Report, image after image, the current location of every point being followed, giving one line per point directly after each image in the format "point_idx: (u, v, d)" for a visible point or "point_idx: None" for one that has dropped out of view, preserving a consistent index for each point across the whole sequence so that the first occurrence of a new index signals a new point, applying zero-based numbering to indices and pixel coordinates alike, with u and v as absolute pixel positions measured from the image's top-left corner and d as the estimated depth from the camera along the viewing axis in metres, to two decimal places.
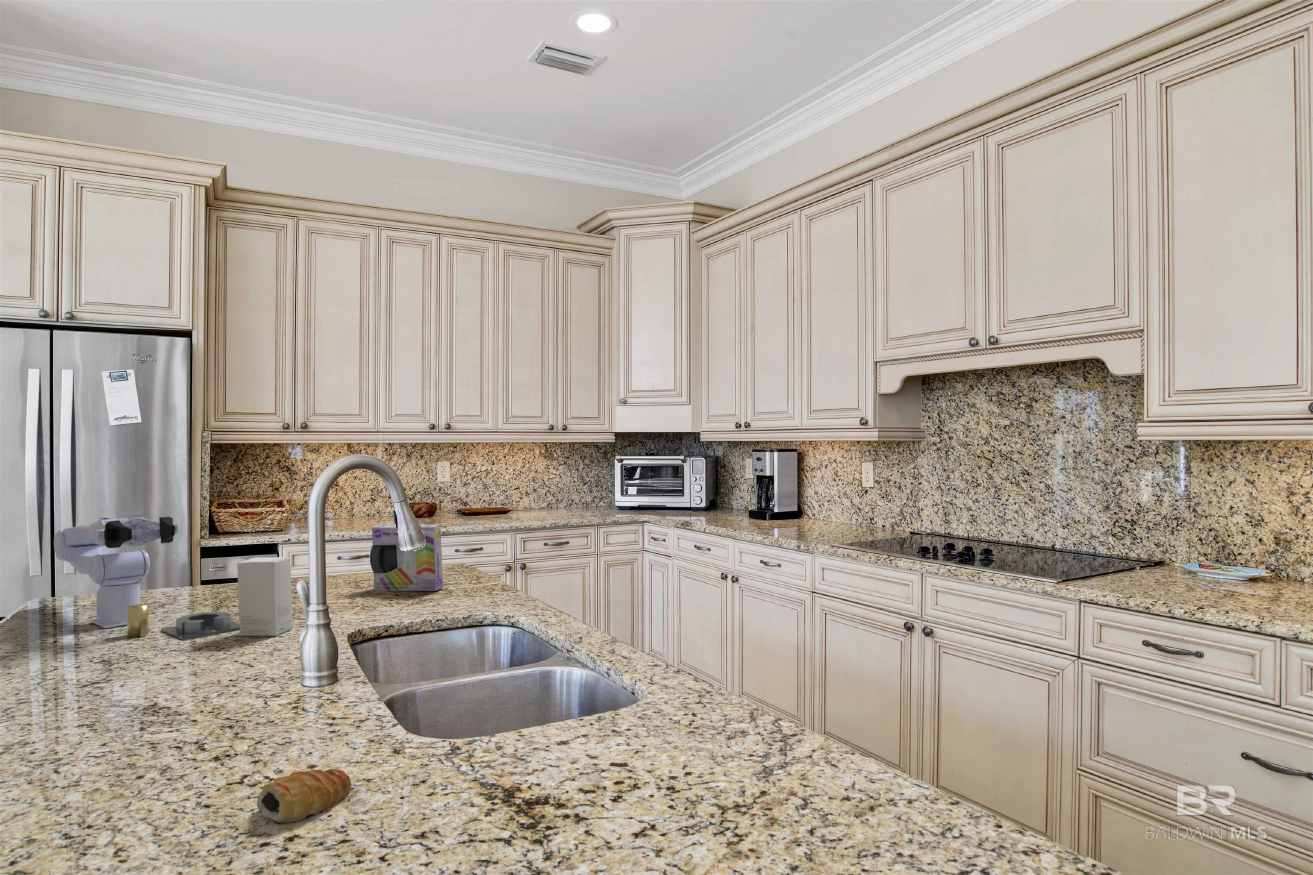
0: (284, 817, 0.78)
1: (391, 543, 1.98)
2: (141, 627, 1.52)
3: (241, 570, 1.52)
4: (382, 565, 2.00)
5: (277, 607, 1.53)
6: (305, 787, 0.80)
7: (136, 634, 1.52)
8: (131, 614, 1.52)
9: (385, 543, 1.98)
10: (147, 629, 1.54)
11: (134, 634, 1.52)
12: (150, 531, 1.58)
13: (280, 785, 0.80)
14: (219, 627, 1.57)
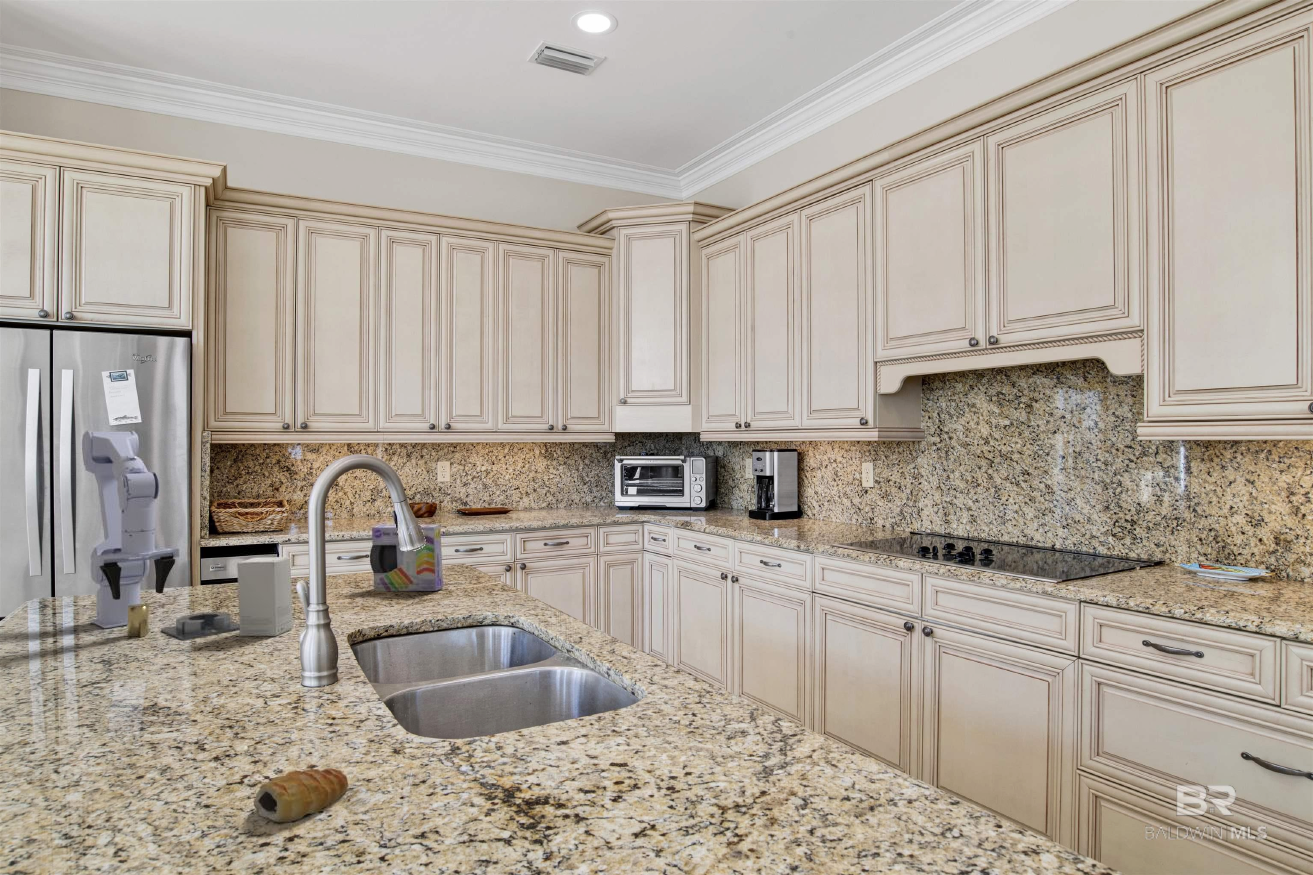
0: (282, 817, 0.78)
1: (391, 543, 1.98)
2: (141, 627, 1.52)
3: (241, 570, 1.52)
4: (382, 565, 2.00)
5: (277, 607, 1.53)
6: (303, 787, 0.80)
7: (136, 634, 1.52)
8: (131, 614, 1.52)
9: (385, 543, 1.98)
10: (147, 629, 1.54)
11: (134, 634, 1.52)
12: None
13: (277, 785, 0.80)
14: (219, 627, 1.57)
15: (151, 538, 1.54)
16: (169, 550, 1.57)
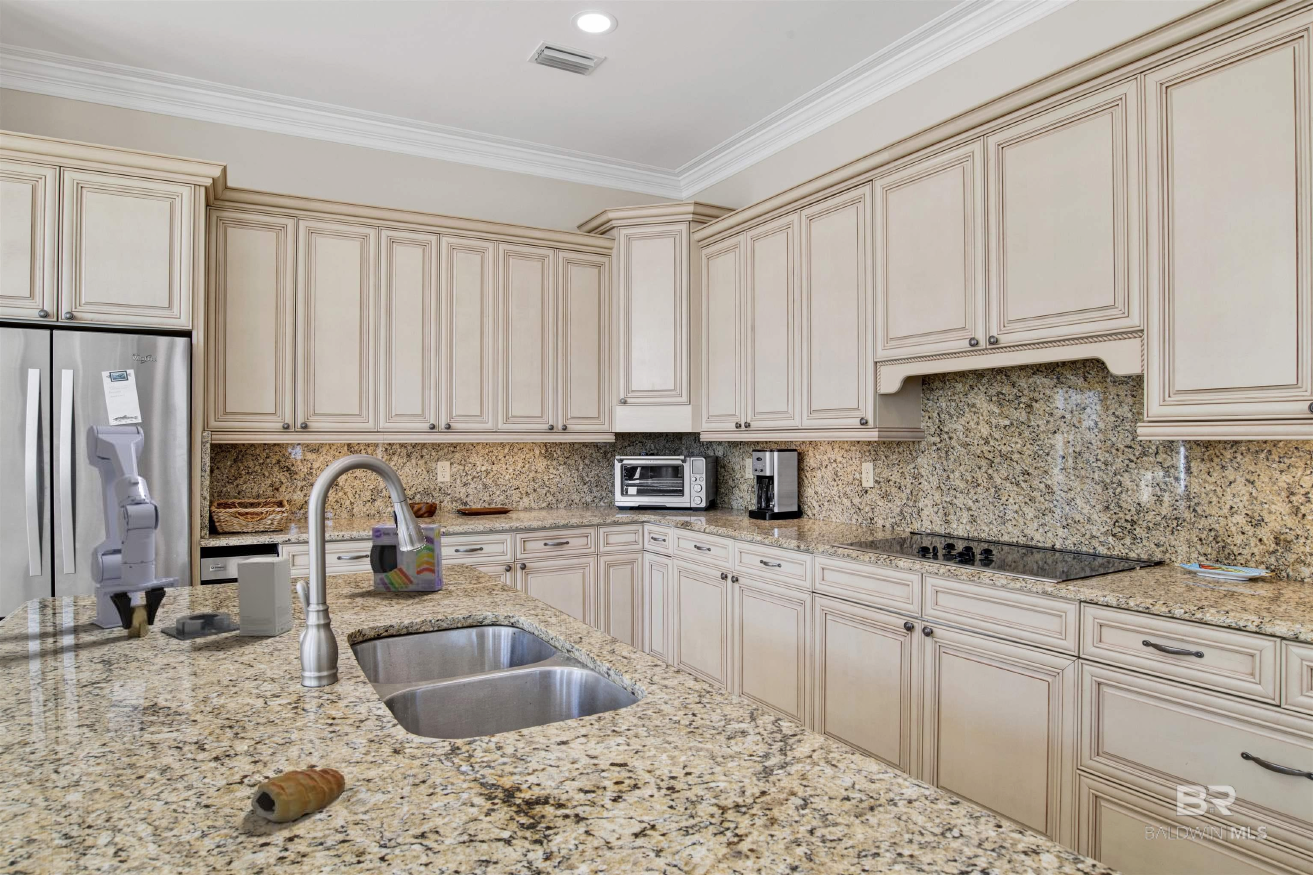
0: (280, 816, 0.78)
1: (391, 543, 1.98)
2: (141, 627, 1.52)
3: (241, 570, 1.52)
4: (382, 565, 2.00)
5: (277, 607, 1.53)
6: (300, 786, 0.80)
7: (136, 634, 1.52)
8: (131, 614, 1.52)
9: (385, 543, 1.98)
10: (147, 629, 1.54)
11: (134, 634, 1.52)
12: None
13: (275, 784, 0.80)
14: (219, 627, 1.57)
15: (151, 569, 1.54)
16: (169, 580, 1.57)
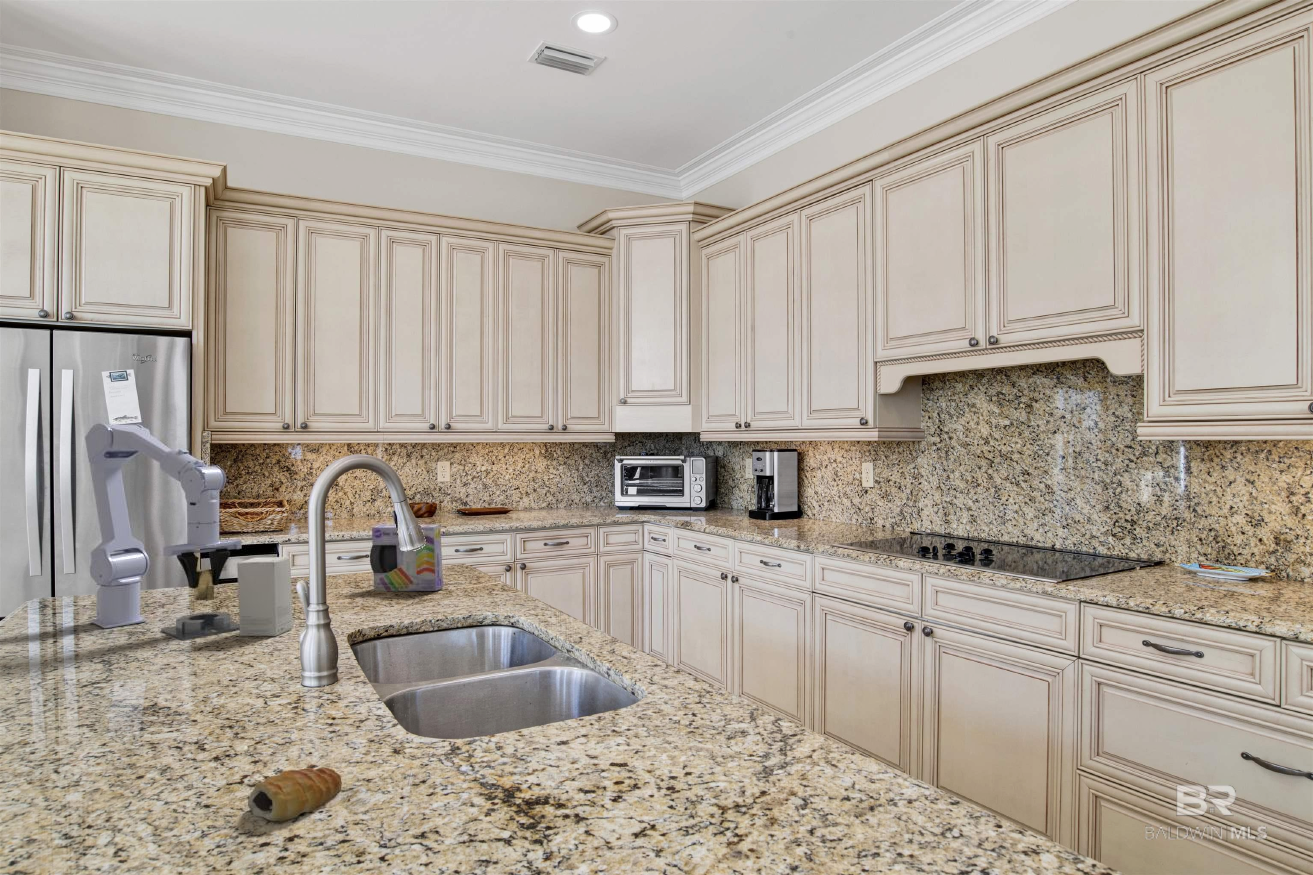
0: (278, 816, 0.78)
1: (391, 543, 1.98)
2: (210, 590, 1.56)
3: (241, 570, 1.52)
4: (382, 565, 2.00)
5: (277, 607, 1.53)
6: (298, 786, 0.81)
7: (204, 597, 1.56)
8: (199, 578, 1.56)
9: (385, 543, 1.98)
10: None
11: (202, 597, 1.56)
12: None
13: (272, 784, 0.80)
14: (219, 627, 1.57)
15: (216, 530, 1.58)
16: (232, 542, 1.61)
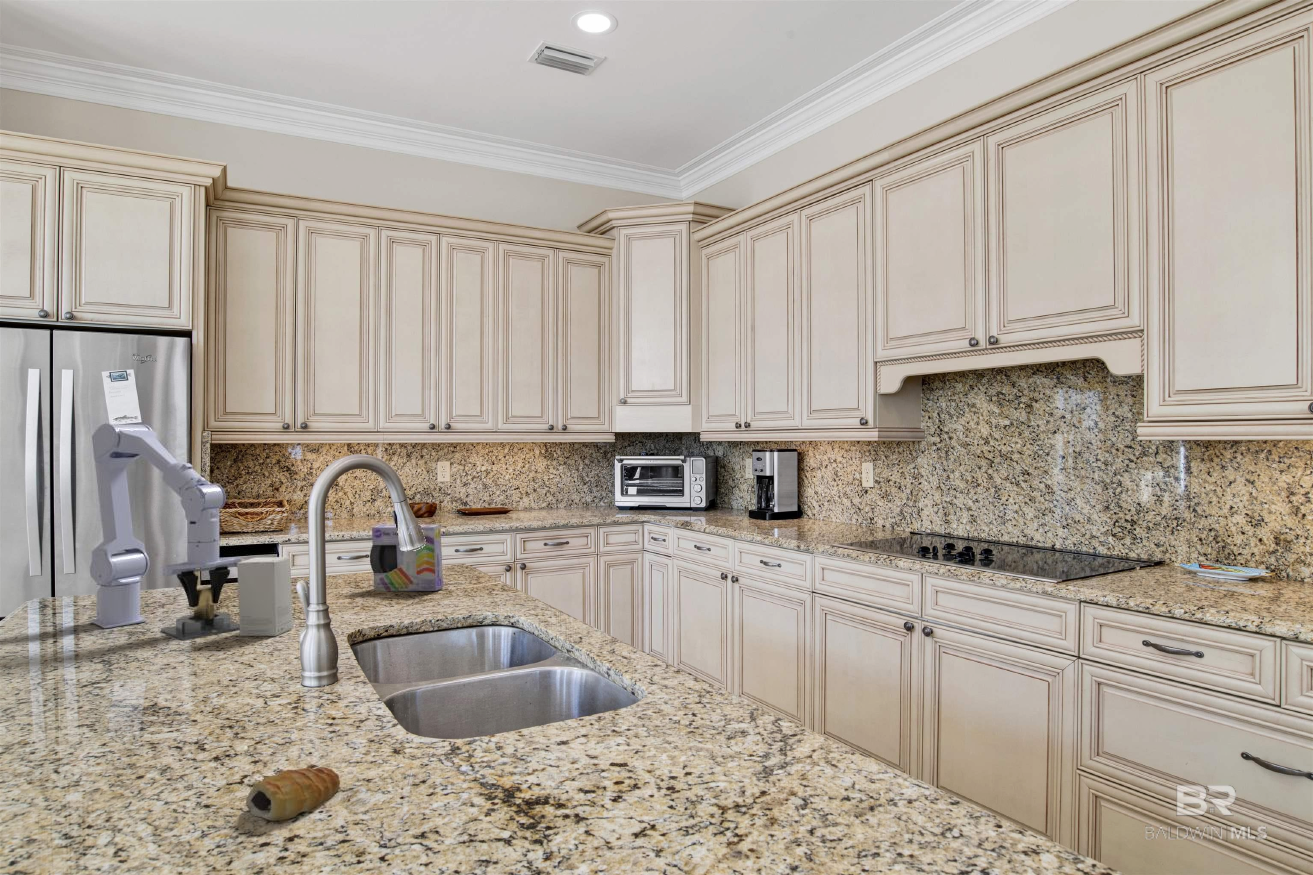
0: (276, 815, 0.78)
1: (391, 543, 1.98)
2: (210, 609, 1.56)
3: (241, 570, 1.52)
4: (382, 565, 2.00)
5: (277, 607, 1.53)
6: (296, 785, 0.81)
7: (204, 616, 1.56)
8: (199, 597, 1.56)
9: (385, 543, 1.98)
10: None
11: (202, 616, 1.56)
12: None
13: (271, 784, 0.80)
14: (219, 627, 1.57)
15: (216, 549, 1.58)
16: (232, 560, 1.61)
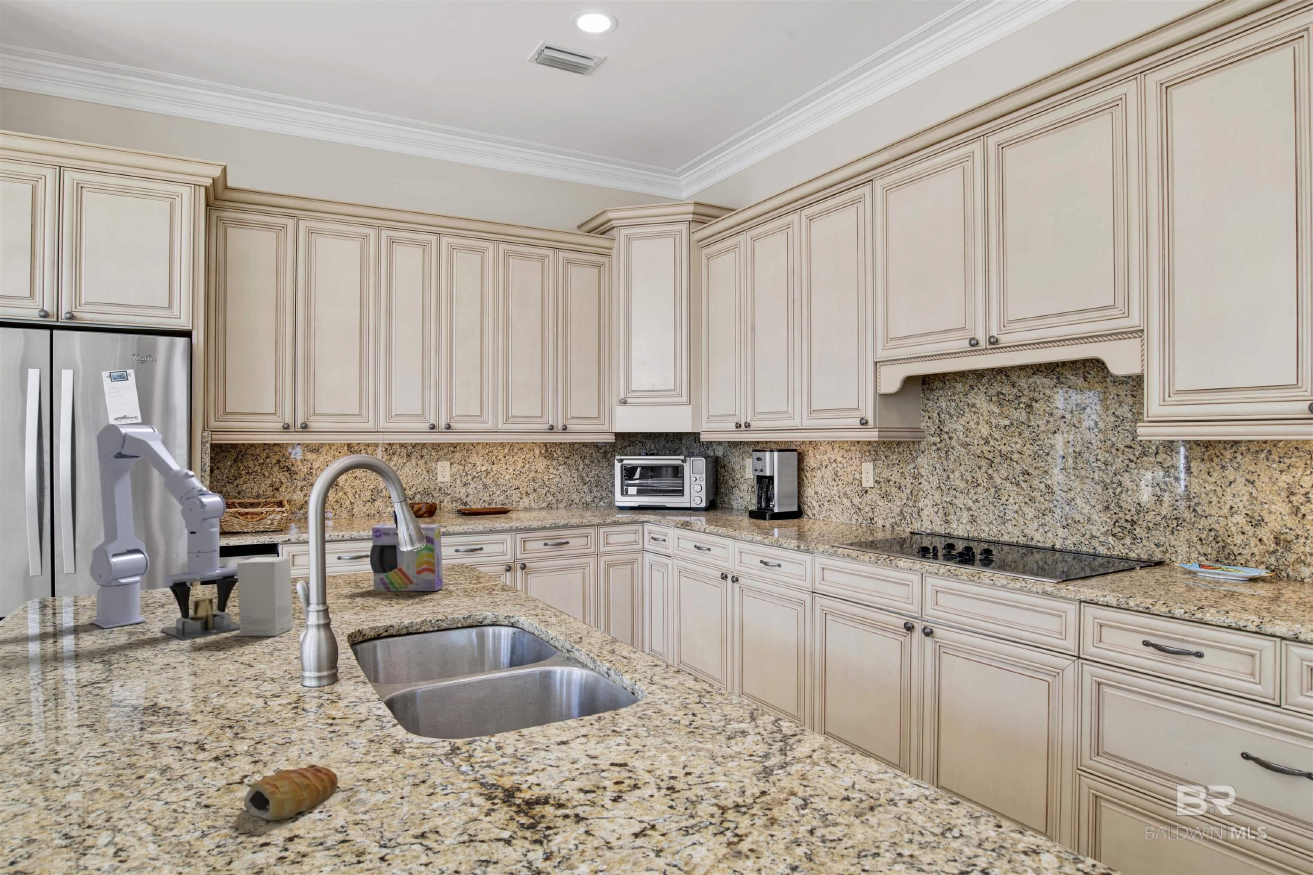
0: (275, 815, 0.78)
1: (391, 543, 1.98)
2: (209, 620, 1.56)
3: (241, 570, 1.52)
4: (382, 565, 2.00)
5: (277, 607, 1.53)
6: (294, 785, 0.81)
7: None
8: (198, 608, 1.56)
9: (385, 543, 1.98)
10: None
11: None
12: None
13: (269, 783, 0.80)
14: (219, 627, 1.57)
15: (216, 559, 1.58)
16: (232, 569, 1.61)
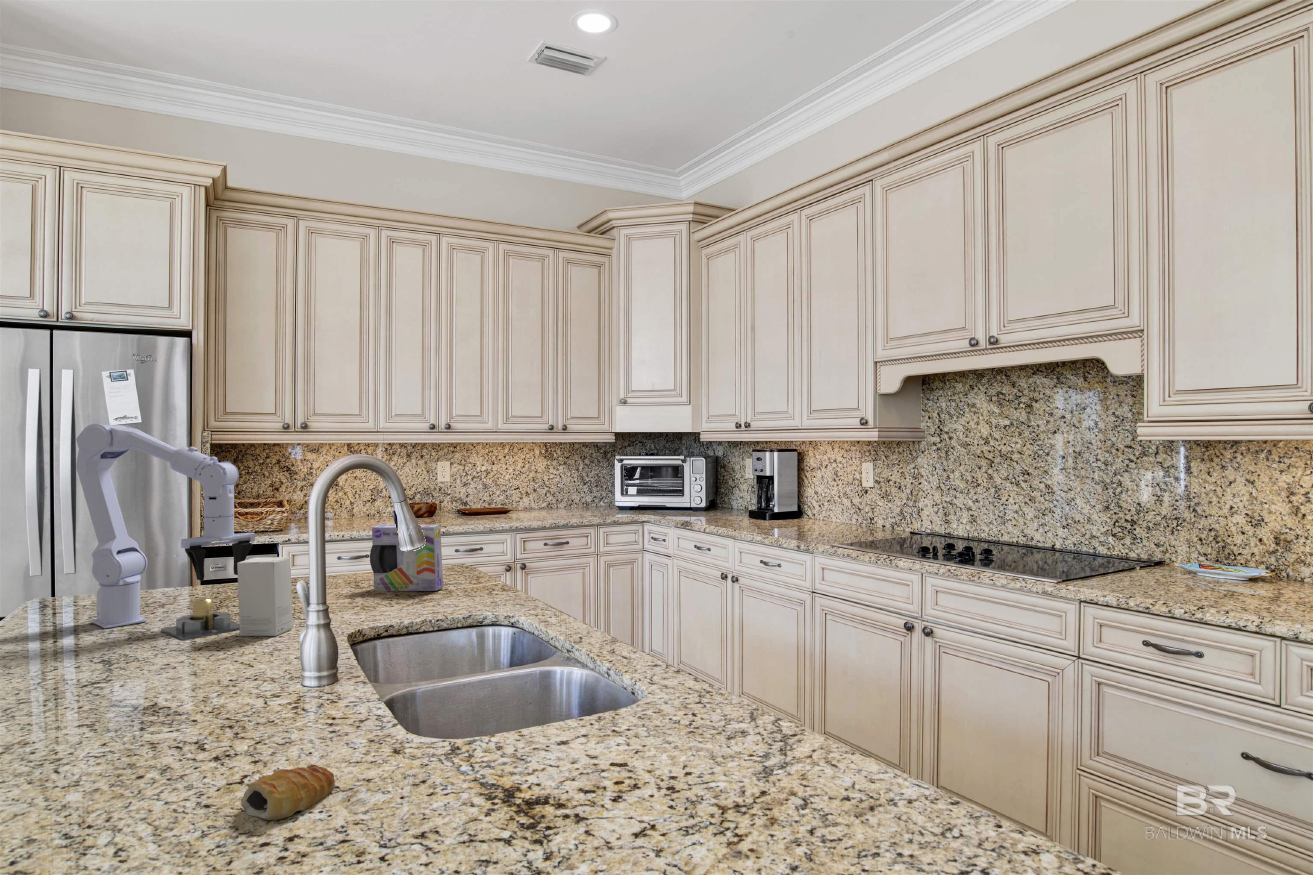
0: (273, 814, 0.78)
1: (391, 543, 1.98)
2: (209, 620, 1.56)
3: (241, 570, 1.52)
4: (382, 565, 2.00)
5: (277, 607, 1.53)
6: (292, 784, 0.81)
7: None
8: (198, 608, 1.56)
9: (385, 543, 1.98)
10: None
11: None
12: None
13: (267, 783, 0.80)
14: (219, 627, 1.57)
15: (231, 523, 1.65)
16: (246, 535, 1.68)
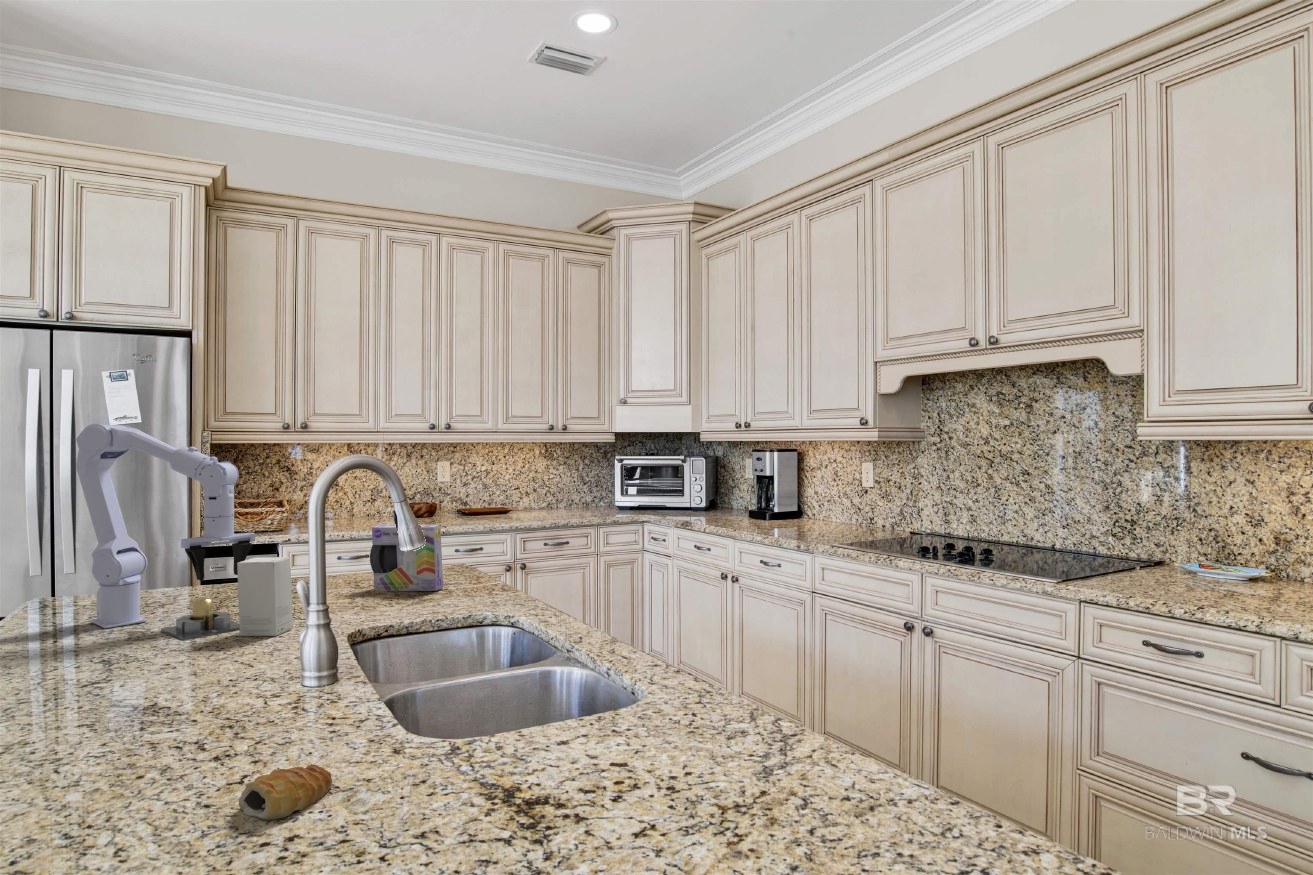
0: (271, 814, 0.78)
1: (391, 543, 1.98)
2: (209, 620, 1.56)
3: (241, 570, 1.52)
4: (382, 565, 2.00)
5: (277, 607, 1.53)
6: (290, 784, 0.81)
7: None
8: (198, 608, 1.56)
9: (385, 543, 1.98)
10: None
11: None
12: None
13: (264, 783, 0.80)
14: (219, 627, 1.57)
15: (231, 523, 1.65)
16: (246, 535, 1.68)
